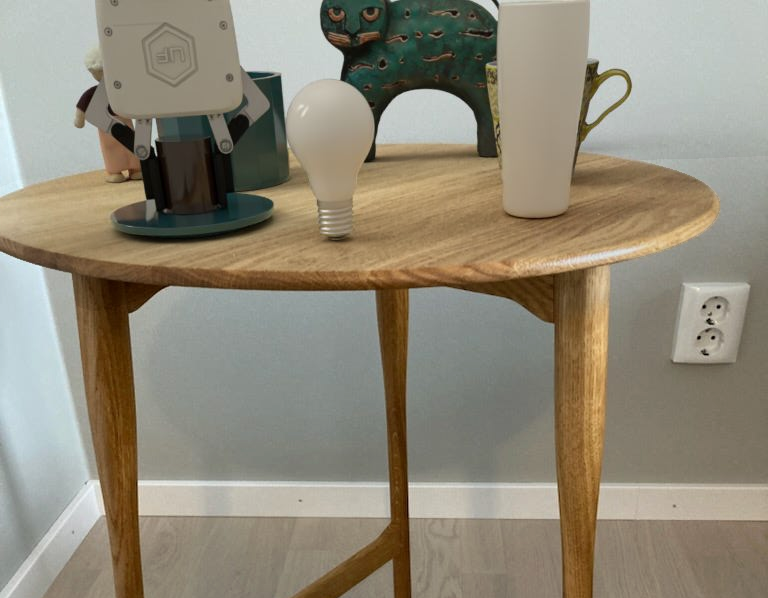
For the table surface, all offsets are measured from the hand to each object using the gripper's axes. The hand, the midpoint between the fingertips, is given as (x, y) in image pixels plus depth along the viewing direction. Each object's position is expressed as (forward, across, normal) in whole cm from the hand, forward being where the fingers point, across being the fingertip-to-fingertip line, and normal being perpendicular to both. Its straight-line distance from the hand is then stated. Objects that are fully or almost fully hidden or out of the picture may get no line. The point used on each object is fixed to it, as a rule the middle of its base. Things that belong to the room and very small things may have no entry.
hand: (192, 203), depth 75 cm
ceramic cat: (+2, +25, +24) cm, 35 cm away
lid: (+1, 0, 0) cm, 1 cm away
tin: (+2, +4, +19) cm, 19 cm away
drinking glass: (+2, +27, -7) cm, 28 cm away
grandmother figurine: (+2, -7, +24) cm, 25 cm away
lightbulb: (+2, +10, -10) cm, 14 cm away
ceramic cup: (+2, +33, +6) cm, 34 cm away
